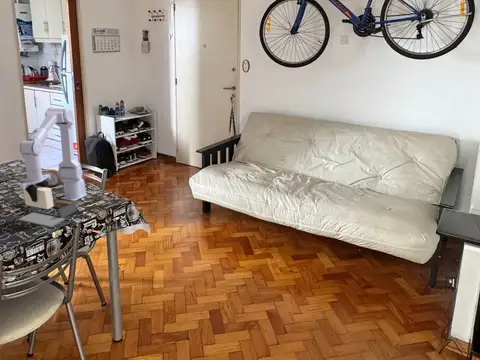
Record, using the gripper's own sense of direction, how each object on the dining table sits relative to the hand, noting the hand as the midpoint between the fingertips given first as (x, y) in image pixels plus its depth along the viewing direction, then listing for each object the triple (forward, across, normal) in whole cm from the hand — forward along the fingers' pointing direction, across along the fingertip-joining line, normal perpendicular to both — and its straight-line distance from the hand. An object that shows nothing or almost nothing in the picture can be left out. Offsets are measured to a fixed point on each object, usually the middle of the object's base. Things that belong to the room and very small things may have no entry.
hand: (38, 199), depth 189 cm
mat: (+9, 0, 0) cm, 9 cm away
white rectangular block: (+3, 0, 0) cm, 3 cm away
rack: (+9, -9, -2) cm, 13 cm away
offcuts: (+9, -16, -2) cm, 19 cm away
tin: (+10, -35, -31) cm, 48 cm away
